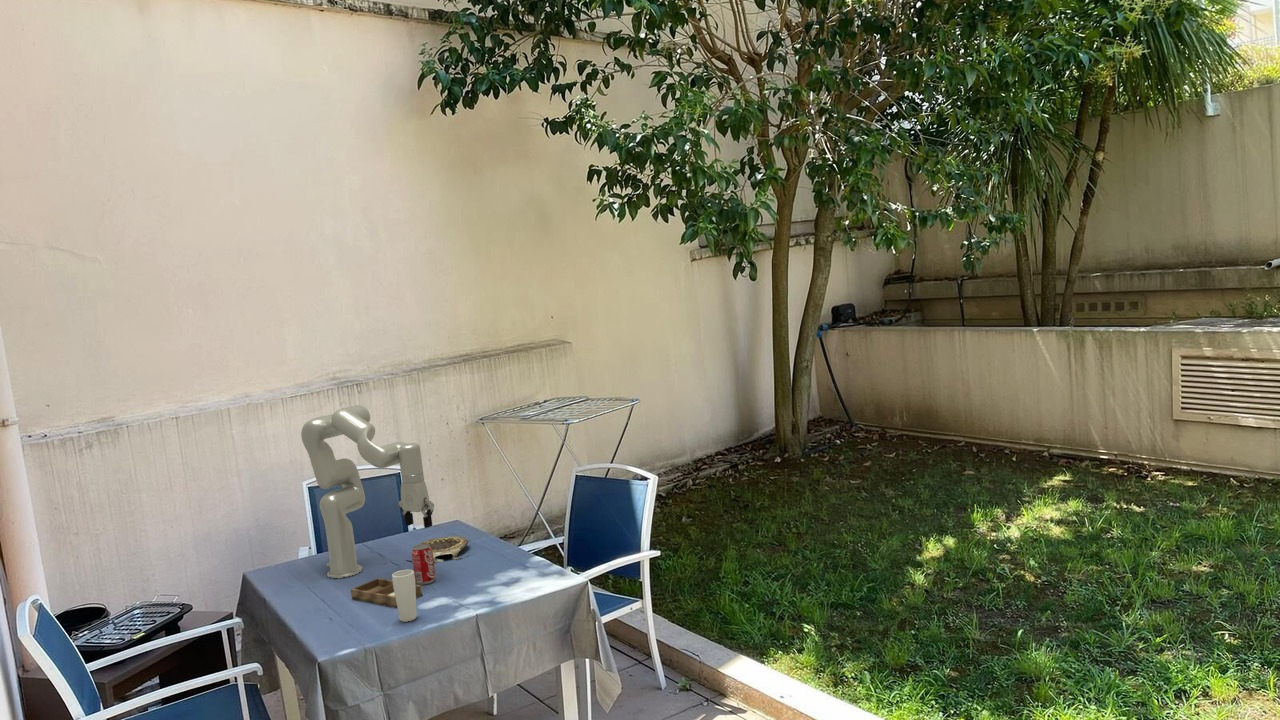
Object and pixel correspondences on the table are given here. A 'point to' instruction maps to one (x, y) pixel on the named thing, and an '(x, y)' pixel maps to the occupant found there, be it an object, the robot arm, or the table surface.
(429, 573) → the soda can
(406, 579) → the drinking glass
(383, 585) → the wooden compartment tray
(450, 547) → the pie
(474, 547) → the table surface
